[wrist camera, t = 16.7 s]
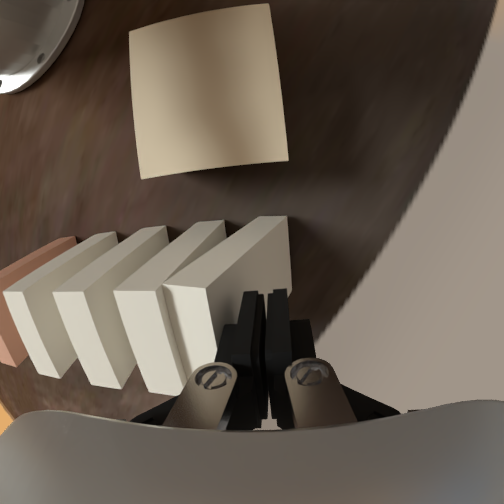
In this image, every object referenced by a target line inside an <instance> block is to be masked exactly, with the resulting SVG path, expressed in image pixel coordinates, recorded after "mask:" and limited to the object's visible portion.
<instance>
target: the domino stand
mask: <svg viewBox="0 0 504 504" xmlns="http://www.w3.org/2000/svg"><path fill="white" fill-rule="evenodd" d="M129 52H130V75H131V91H132V104H133V115H134V126H135V135H136V144H137V152H138V160H139V168H140V175H141V179H145V178H151V177H157V176H163V175H169V174H176V173H182V172H189V171H196V170H203V169H211V168H219V167H227V166H236V165H245V164H255V163H266V162H278V161H289V159H288V149H287V139H286V129H285V120H284V111H283V102H282V93H281V85H280V77H279V69H278V62H277V54H276V47H275V40H274V33H273V26H272V20H271V13H270V7H269V3H266V4H255V5H246V6H238V7H230V8H224V9H218V10H212V11H206V12H201V13H196V14H191V15H187V16H183V17H178V18H174V19H170V20H166V21H163V22H159V23H156V24H152V25H149V26H145V27H142V28H139V29H136V30H133V31H130V32H129Z"/></svg>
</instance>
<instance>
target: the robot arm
mask: <svg viewBox="0 0 504 504" xmlns="http://www.w3.org/2000/svg"><path fill="white" fill-rule="evenodd" d="M83 6H84V0H0V93H1V94H13V93H16V92H20V91H22V90H24V89H25V88H27V87H29V86H30V85H31V84H33V83H34V82H35V81H36V80H38V79H39V78H40V77H41V76H42V75H43V74H44V73H45V72H46V71H47V70H48V69H49V67H50V66H51V65H52V64H53V62H54V61H55V60H56V59H57V57H58V56H59V54H60V53H61V51H62V50H63V48H64V47H65V45H66V44H67V42H68V40H69V39H70V37H71V35H72V33H73V31H74V29H75V27H76V25H77V23H78V20H79V18H80V15H81V12H82V9H83ZM268 393H269V397H270V405H271V415H272V419H277V426H278V427H280V428H281V429H282V430H253V429H255V428H261V422H262V419H267V417H268ZM0 504H504V401H499V400H471V401H462V402H456V403H450V404H445V405H441V406H436V407H432V408H428V409H421V410H408V412H407V413H404V414H401V413H400V412H399V411H397V410H396V409H394V408H392V407H390V406H388V405H385V404H383V403H381V402H378V401H376V400H374V399H372V398H370V397H367V396H365V395H363V394H361V393H359V392H357V391H354V390H352V389H350V388H348V387H346V386H344V385H342V384H340V382H339V380H338V378H337V376H336V373H335V371H334V369H333V367H332V366H331V365H330V364H329V363H328V362H326V361H325V360H322V359H319V358H316V353H315V347H314V342H313V336H312V330H311V325H310V320H309V319H303V320H291V321H289V308H288V295H287V288H284V289H273V293H268V298H267V318H266V311H265V301H264V294H259V293H258V290H257V291H244V292H243V297H242V302H241V306H240V311H239V316H238V321H237V324H225V325H224V327H223V331H222V334H221V338H220V342H219V345H218V349H217V353H216V356H215V360H214V362H213V363H208V364H205V365H202V366H200V367H198V368H197V369H196V370H195V371H194V372H193V373H192V374H191V376H190V378H189V379H188V381H187V383H186V385H185V386H184V388H183V390H182V392H181V393H180V395H178V396H176V397H174V398H172V399H170V400H168V401H166V402H164V403H162V404H160V405H158V406H156V407H154V408H152V409H150V410H148V411H146V412H144V413H142V414H140V415H138V416H136V417H135V418H133V419H132V420H131V421H130V422H127V421H126V419H116V420H115V419H109V418H103V417H98V416H92V415H86V414H81V413H76V412H68V411H61V410H43V411H33V412H29V413H25V414H23V415H21V416H19V417H18V418H16V419H15V420H14V421H13V422H12V423H11V424H10V426H8V427H7V429H6V430H5V431H4V432H3V433H2V435H1V436H0Z"/></svg>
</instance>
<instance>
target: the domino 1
mask: <svg viewBox="0 0 504 504" xmlns="http://www.w3.org/2000/svg"><path fill="white" fill-rule="evenodd" d="M76 245H77V242H76V238H75V236H72V237H65V238H59V239H57V240H55V241H53V242H51V243H49V244H47V245H46V246H44V247H42V248H40V249H38V250H36V251H34V252H33V253H31V254H29V255H27V256H25V257H24V258H22V259H20V260H18V261H16V262H15V263H13V264H11V265H10V266H8V267H6V268H4V269H3V270H1V271H0V361H1V363H4V364H7V365H11V366H14V367H17V366H18V365H19V364H20V363H21V362H22V361H23V360H24V359H25V358H26V357H27V356H28V355H29V354H28V352H27V350H26V347H25V345H24V343H23V341H22V339H21V337H20V334H19V332H18V330H17V328H16V325H15V323H14V320H13V318H12V316H11V313H10V311H9V308H8V305H7V303H6V300H5V297H4V295H3V291H4V290H5V289H7V288H8V287H10V286H11V285H13V284H14V283H16V282H17V281H19V280H20V279H22V278H24V277H25V276H27V275H28V274H30V273H31V272H33V271H34V270H36V269H38V268H39V267H41V266H42V265H44V264H46V263H47V262H49V261H51V260H52V259H54V258H56V257H57V256H59V255H61V254H62V253H64V252H66V251H67V250H69V249H71V248H72V247H74V246H76Z"/></svg>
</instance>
